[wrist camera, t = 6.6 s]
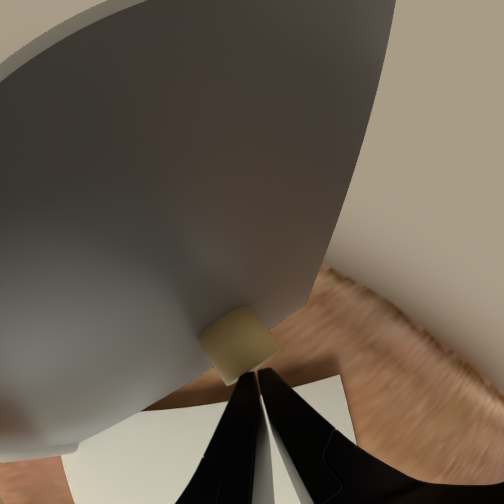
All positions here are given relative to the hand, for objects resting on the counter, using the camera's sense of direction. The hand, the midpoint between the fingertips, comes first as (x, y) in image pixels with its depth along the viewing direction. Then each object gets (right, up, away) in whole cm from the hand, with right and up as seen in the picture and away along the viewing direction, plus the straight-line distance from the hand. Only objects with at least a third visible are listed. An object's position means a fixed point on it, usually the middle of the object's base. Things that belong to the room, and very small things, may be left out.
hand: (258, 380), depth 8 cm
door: (-4, -3, +5) cm, 7 cm away
